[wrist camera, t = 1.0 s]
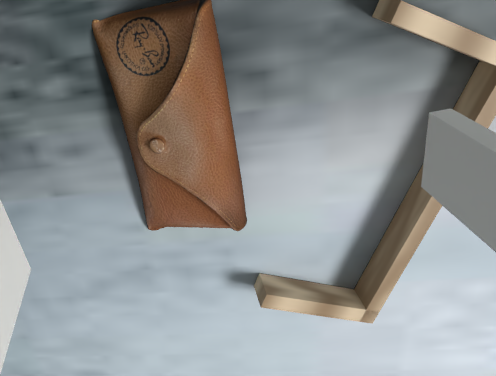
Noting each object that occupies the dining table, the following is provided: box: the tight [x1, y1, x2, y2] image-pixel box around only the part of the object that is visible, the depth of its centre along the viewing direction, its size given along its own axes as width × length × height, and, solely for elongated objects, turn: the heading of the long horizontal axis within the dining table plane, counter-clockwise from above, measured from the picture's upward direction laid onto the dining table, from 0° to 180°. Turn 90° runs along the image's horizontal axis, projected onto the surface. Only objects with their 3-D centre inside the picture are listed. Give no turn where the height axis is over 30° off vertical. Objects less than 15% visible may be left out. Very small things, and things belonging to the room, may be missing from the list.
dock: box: [254, 0, 496, 323], centre depth 39 cm, size 12×27×3 cm, turn 160°
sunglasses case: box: [92, 0, 247, 231], centre depth 34 cm, size 18×7×7 cm
